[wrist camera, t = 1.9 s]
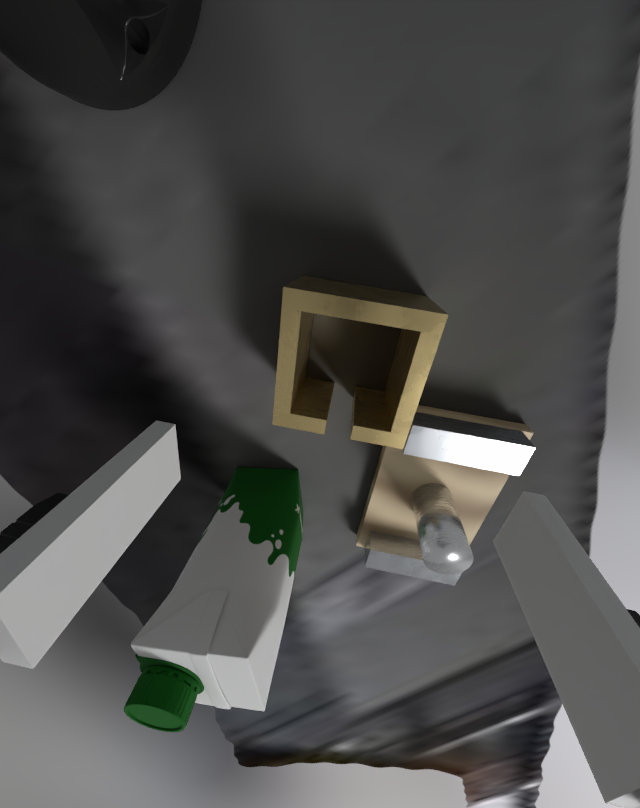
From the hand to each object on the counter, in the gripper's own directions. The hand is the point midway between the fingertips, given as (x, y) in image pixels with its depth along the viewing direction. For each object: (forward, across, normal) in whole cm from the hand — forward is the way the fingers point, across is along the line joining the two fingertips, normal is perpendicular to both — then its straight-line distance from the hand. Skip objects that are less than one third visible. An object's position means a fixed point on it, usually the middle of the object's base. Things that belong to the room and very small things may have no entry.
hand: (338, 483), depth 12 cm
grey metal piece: (+16, +11, -14) cm, 24 cm away
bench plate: (+17, +11, -14) cm, 25 cm away
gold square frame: (+17, 0, 0) cm, 17 cm away
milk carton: (+18, -6, -19) cm, 26 cm away
